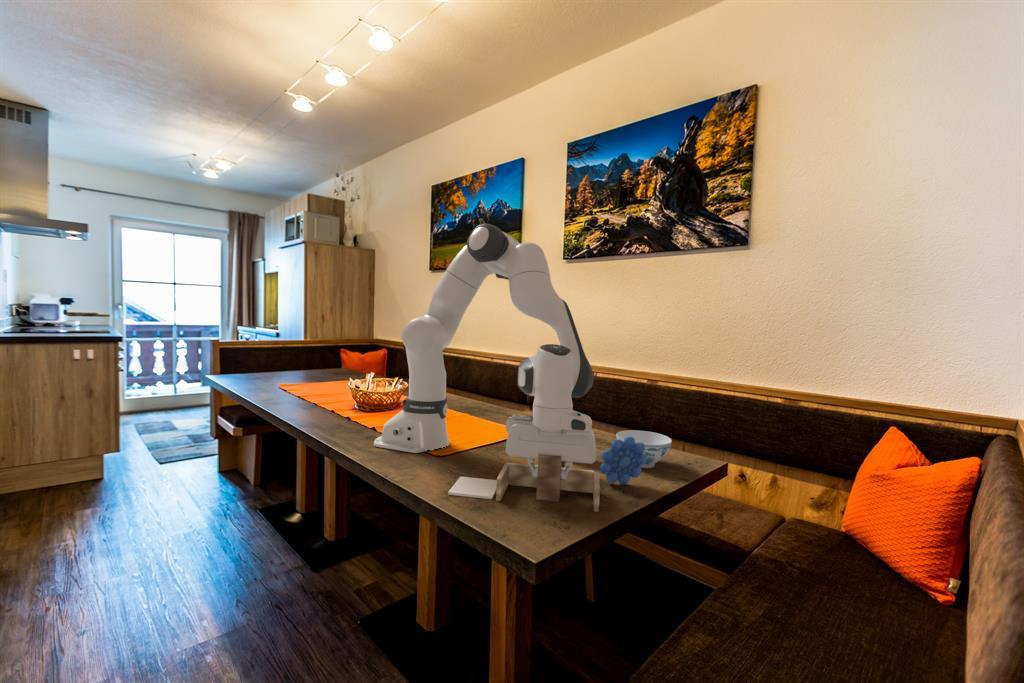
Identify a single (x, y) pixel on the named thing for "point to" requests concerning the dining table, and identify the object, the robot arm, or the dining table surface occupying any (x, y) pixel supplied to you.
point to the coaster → (474, 488)
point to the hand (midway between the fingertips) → (549, 478)
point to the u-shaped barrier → (575, 480)
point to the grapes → (623, 460)
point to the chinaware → (649, 444)
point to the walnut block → (549, 477)
